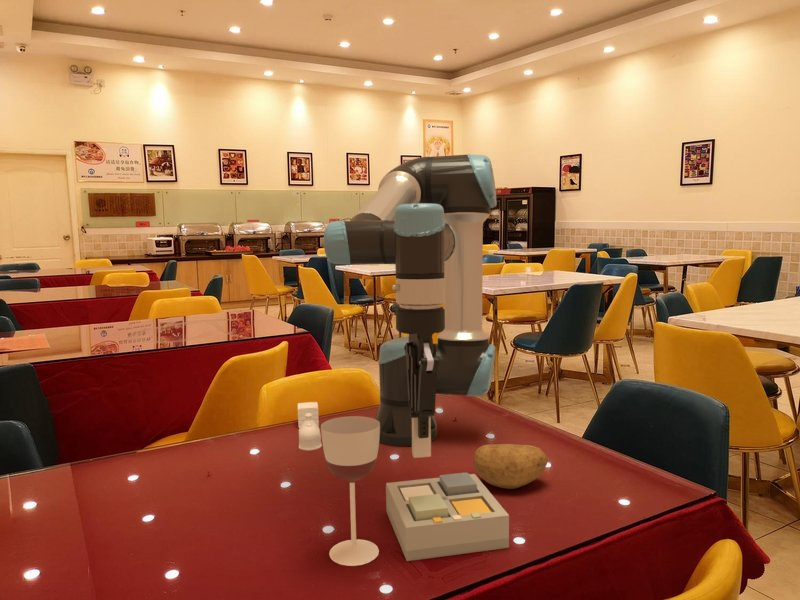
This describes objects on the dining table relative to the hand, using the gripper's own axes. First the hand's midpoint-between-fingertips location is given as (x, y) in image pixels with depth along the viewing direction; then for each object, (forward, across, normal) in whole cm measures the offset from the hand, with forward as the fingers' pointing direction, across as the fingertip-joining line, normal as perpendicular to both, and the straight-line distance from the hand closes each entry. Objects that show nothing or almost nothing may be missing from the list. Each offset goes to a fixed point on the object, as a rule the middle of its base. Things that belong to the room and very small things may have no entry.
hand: (421, 455), depth 94 cm
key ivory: (+11, -5, 0) cm, 12 cm away
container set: (+13, -52, -15) cm, 56 cm away
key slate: (+9, -5, +7) cm, 13 cm away
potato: (+13, -15, +21) cm, 29 cm away
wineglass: (+14, +2, -11) cm, 18 cm away
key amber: (+11, +2, +8) cm, 13 cm away
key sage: (+9, +2, +1) cm, 10 cm away
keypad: (+13, -2, +4) cm, 14 cm away
